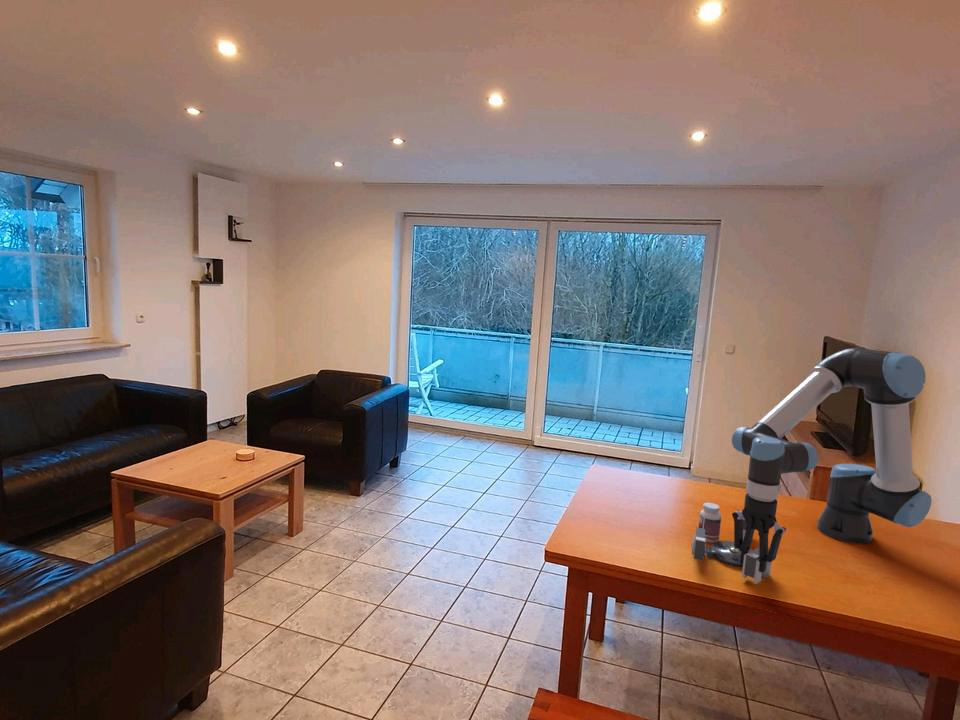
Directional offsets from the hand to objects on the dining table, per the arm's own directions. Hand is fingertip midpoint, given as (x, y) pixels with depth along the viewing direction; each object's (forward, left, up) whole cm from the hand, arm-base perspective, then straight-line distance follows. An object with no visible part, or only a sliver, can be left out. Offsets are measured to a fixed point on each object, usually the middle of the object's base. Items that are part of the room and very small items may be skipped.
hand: (751, 578), depth 144 cm
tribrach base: (0, -14, -1) cm, 14 cm away
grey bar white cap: (-2, -2, -1) cm, 4 cm away
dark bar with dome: (+11, -10, -1) cm, 15 cm away
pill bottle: (+4, -24, -1) cm, 25 cm away
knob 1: (-7, -25, -1) cm, 26 cm away
